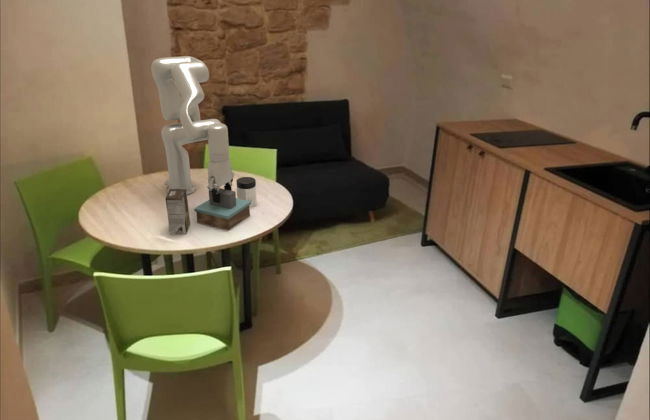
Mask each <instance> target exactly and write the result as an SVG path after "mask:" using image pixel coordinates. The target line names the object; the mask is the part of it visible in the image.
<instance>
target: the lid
mask: <svg viewBox="0 0 650 420" xmlns="http://www.w3.org/2000/svg"><path fill="white" fill-rule="evenodd" d="M216 188H217V187H215V190H216ZM219 193H220V203H216V202H213V198H212V193H211V191H210V190H209V189H208V199H207V200H206V201H205V202H203V203H201V204H199V205H197V206H196V207H194V208H193V210H194V212H200V213H204V214H208V215H213V216H217V217H221V218H225V219H229V218H231V217H232V216H234V215H235V214H237V213H238V212H240V211H241V210H243V209H244V208H246V207H247V206H249V205H250V204H251V201H247V200H242V199H238V198H237V191H234V190H232V191H231V190H226V189H224V188H222V187H220V188H219Z"/></svg>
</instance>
